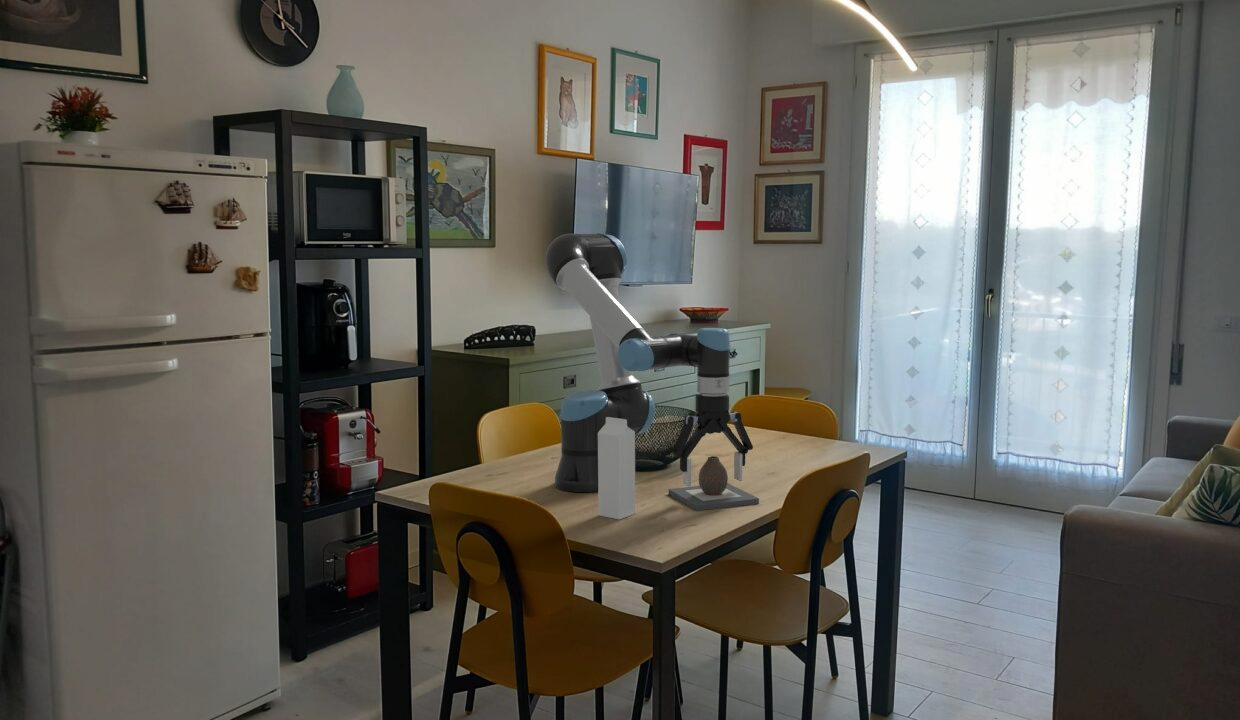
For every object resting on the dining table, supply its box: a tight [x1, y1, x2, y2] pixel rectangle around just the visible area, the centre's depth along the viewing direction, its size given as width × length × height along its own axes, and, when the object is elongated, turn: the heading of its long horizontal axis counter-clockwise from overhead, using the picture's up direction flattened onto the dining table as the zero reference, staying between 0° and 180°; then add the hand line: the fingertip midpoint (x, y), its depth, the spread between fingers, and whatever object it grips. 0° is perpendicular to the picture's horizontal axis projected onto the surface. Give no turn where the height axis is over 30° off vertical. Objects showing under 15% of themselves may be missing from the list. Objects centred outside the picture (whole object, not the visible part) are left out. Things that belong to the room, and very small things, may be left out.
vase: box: [698, 455, 729, 495], centre depth 224 cm, size 7×7×9 cm
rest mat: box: [668, 483, 760, 512], centre depth 225 cm, size 16×16×1 cm
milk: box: [597, 417, 636, 521], centre depth 211 cm, size 6×6×22 cm
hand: (712, 482), depth 224 cm, fingers open, 13 cm apart
